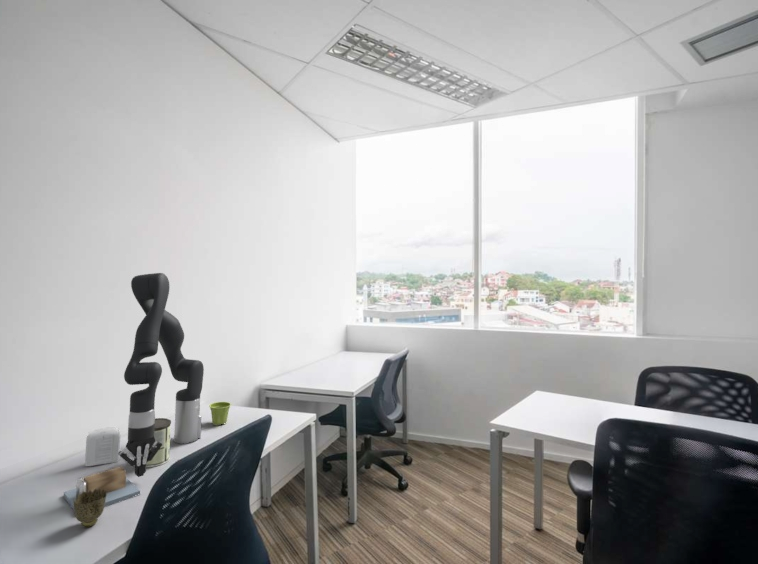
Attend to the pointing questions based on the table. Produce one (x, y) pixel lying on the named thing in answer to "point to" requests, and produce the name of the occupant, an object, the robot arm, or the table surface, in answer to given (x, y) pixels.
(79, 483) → the dowel pins
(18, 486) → the table surface
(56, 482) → the table surface
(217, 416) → the plant pot
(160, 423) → the coffee can
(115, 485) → the flange bar
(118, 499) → the base board
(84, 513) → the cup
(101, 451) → the photo printer
